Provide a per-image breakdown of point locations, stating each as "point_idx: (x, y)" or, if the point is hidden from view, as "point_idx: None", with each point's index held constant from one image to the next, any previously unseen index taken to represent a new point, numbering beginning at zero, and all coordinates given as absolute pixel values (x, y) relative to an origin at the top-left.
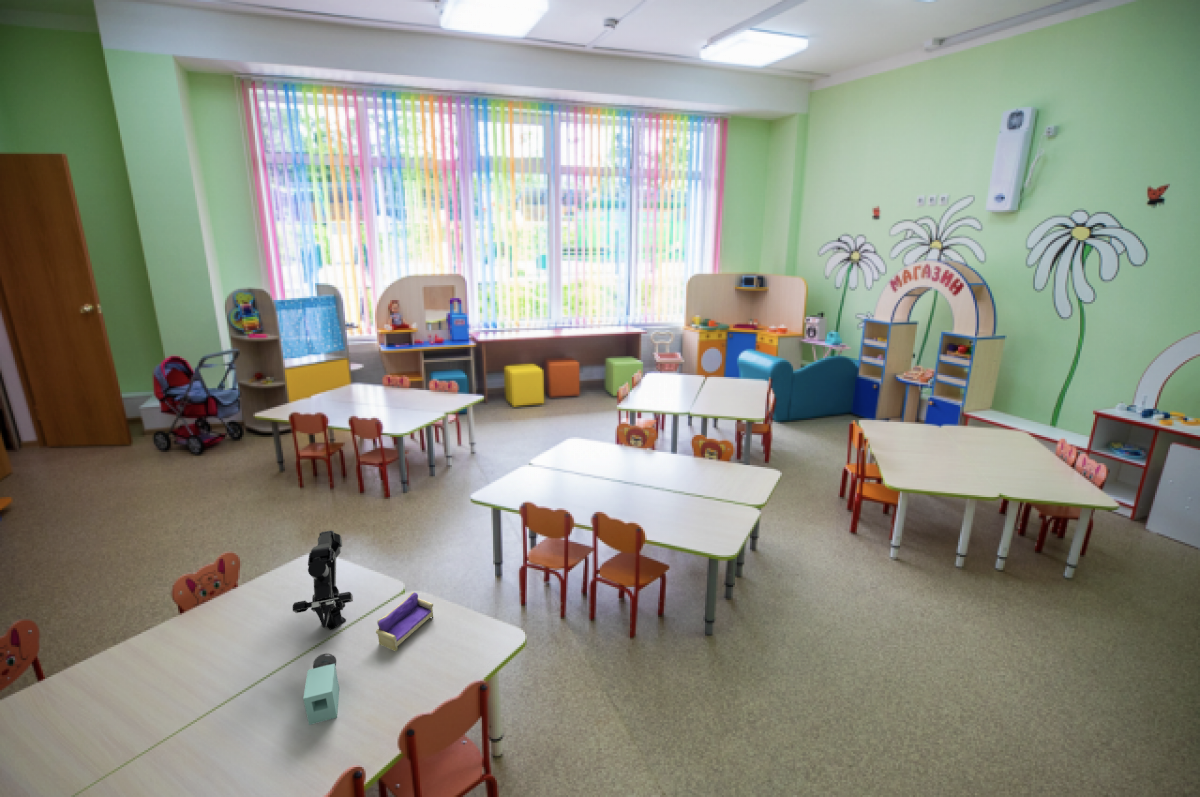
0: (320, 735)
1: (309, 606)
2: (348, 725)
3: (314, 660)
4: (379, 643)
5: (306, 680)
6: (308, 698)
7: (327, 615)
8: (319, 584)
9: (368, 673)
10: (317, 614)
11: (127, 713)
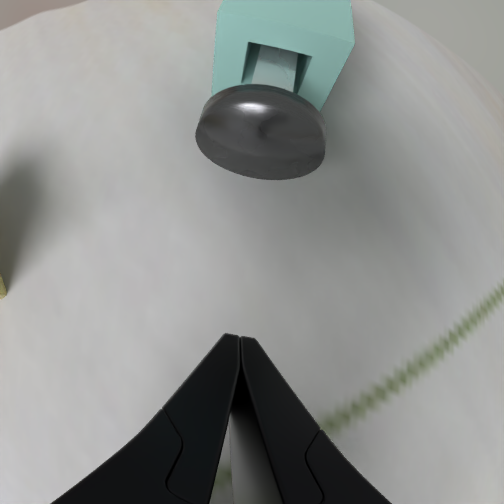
0: None
1: None
2: (215, 8)
3: (322, 137)
4: (4, 292)
5: (349, 8)
6: None
7: (157, 417)
8: None
9: (94, 139)
10: (367, 482)
11: None
